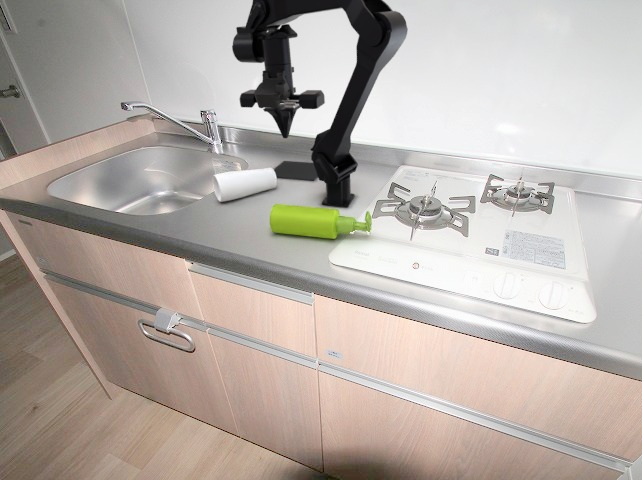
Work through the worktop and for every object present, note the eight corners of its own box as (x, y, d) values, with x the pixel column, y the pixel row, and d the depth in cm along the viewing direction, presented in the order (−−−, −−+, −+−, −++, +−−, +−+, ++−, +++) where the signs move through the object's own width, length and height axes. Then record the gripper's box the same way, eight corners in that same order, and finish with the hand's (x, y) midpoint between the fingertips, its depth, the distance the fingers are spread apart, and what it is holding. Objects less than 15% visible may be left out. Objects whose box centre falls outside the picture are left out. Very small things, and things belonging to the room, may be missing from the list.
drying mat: (313, 181, 98) (313, 179, 97) (266, 177, 102) (266, 175, 101) (327, 165, 107) (327, 163, 106) (284, 162, 111) (284, 160, 110)
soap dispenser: (274, 194, 73) (372, 202, 68) (283, 215, 79) (374, 224, 74) (265, 217, 70) (367, 227, 65) (275, 237, 76) (369, 248, 71)
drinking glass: (274, 194, 97) (219, 206, 91) (266, 171, 97) (210, 181, 91) (281, 184, 91) (222, 196, 84) (272, 159, 91) (213, 169, 85)
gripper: (219, 69, 74) (234, 146, 83) (304, 69, 69) (310, 151, 78) (246, 62, 83) (256, 132, 92) (323, 60, 77) (326, 135, 86)
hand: (285, 137), depth 87 cm, fingers closed
